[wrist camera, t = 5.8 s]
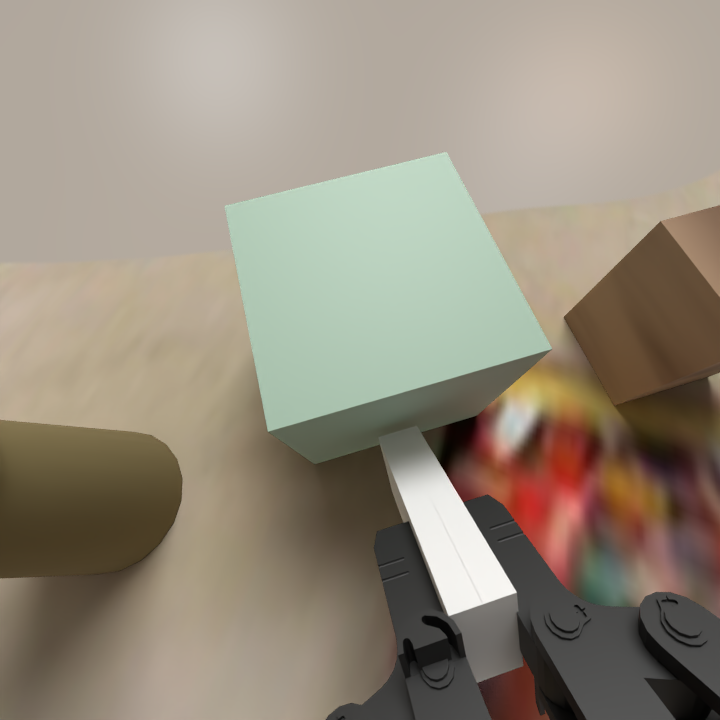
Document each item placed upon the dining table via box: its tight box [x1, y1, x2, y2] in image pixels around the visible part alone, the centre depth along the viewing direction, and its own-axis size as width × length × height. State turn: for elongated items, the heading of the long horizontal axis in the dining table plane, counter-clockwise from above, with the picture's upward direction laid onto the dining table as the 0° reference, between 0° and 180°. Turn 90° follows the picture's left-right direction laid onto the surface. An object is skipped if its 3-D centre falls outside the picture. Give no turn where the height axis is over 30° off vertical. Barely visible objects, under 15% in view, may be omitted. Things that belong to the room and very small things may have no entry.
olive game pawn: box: [0, 420, 182, 578], centre depth 11 cm, size 6×6×11 cm
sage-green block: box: [225, 152, 552, 464], centre depth 15 cm, size 8×8×8 cm
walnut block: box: [564, 205, 720, 406], centre depth 15 cm, size 5×5×7 cm
